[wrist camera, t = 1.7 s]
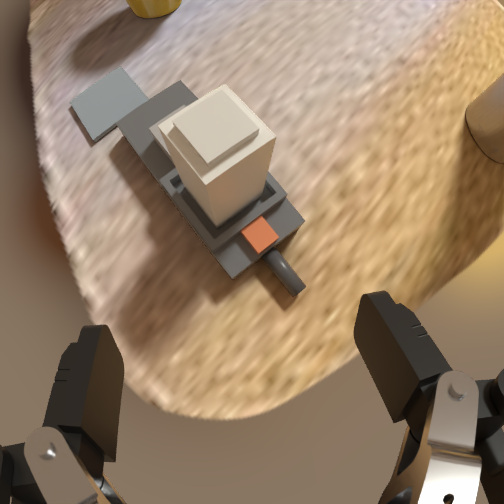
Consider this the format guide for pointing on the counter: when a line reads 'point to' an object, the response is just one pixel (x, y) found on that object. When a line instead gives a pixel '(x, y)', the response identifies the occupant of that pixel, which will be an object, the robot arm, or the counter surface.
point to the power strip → (216, 240)
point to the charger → (220, 153)
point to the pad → (107, 102)
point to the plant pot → (153, 7)
